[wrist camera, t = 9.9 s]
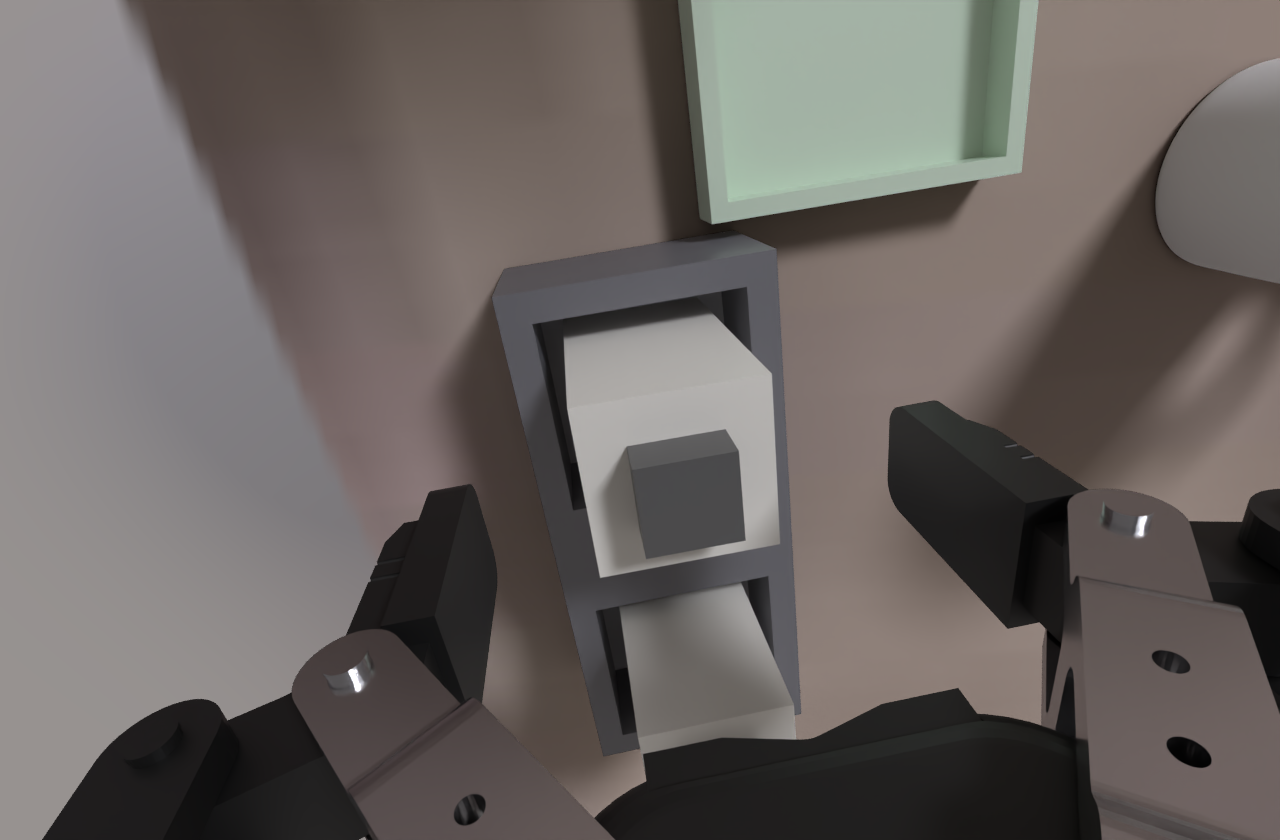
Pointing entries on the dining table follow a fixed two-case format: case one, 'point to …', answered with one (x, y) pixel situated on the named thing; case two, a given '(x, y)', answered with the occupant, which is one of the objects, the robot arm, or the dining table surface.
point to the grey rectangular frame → (534, 346)
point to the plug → (670, 436)
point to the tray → (851, 98)
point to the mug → (1227, 178)
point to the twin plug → (702, 670)
